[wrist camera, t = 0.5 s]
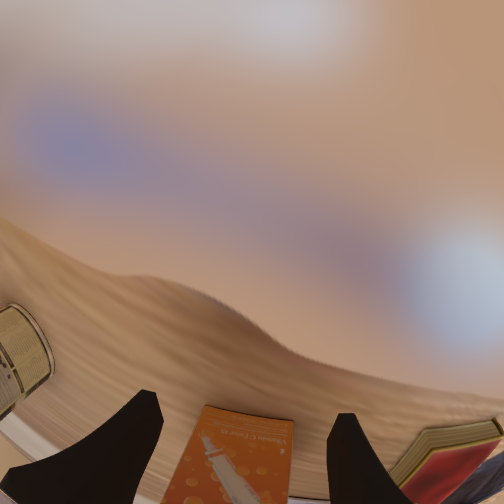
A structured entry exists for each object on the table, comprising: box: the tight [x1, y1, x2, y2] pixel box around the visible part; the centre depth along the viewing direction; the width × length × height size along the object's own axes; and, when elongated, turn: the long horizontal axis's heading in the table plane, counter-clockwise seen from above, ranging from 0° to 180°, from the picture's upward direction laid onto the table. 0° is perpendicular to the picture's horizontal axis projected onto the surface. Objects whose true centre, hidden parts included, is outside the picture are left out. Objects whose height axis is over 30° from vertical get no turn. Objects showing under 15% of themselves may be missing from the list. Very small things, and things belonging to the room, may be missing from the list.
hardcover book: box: [389, 418, 504, 504], centre depth 20 cm, size 12×21×4 cm, turn 171°
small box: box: [160, 405, 294, 504], centre depth 16 cm, size 8×6×13 cm
